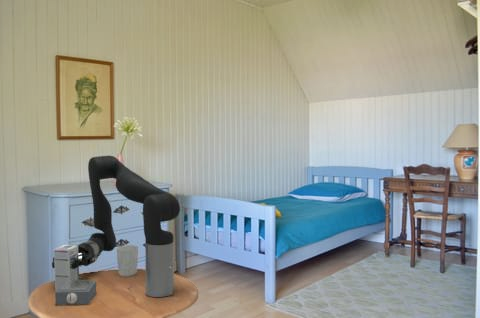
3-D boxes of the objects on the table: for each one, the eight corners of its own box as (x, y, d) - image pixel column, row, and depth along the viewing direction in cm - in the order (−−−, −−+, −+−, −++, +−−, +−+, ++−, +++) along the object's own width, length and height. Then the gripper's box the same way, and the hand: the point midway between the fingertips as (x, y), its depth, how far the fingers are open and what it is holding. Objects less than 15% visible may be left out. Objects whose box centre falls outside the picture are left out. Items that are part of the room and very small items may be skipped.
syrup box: (69, 291, 148) (69, 249, 147) (54, 290, 149) (53, 248, 148) (79, 286, 154) (79, 245, 153) (64, 284, 155) (63, 243, 154)
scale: (96, 292, 147) (96, 281, 147) (88, 305, 137) (88, 292, 137) (65, 293, 146) (65, 281, 146) (54, 305, 136) (54, 292, 136)
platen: (92, 281, 146) (92, 279, 146) (86, 290, 138) (86, 288, 138) (67, 282, 145) (67, 279, 145) (59, 290, 137) (59, 288, 137)
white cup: (117, 271, 171) (117, 245, 170) (138, 269, 173) (138, 244, 172) (116, 277, 163) (116, 251, 162) (138, 276, 165) (138, 249, 164)
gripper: (66, 242, 165) (42, 254, 149) (103, 243, 164) (83, 255, 148) (66, 261, 166) (43, 275, 149) (103, 263, 165) (83, 277, 148)
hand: (63, 265), depth 148 cm, fingers closed on syrup box, 6 cm apart
